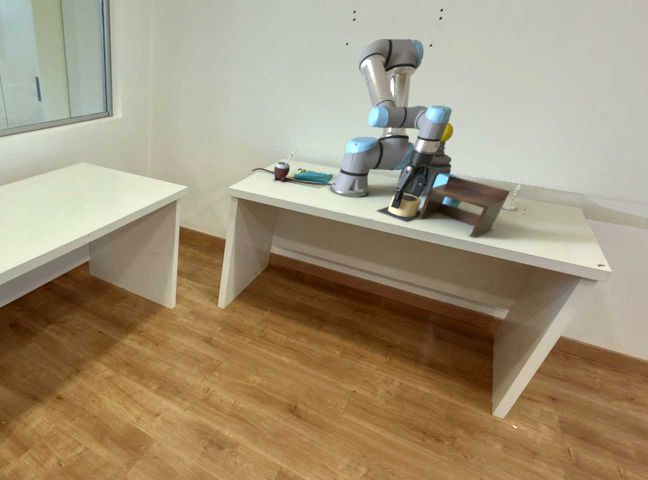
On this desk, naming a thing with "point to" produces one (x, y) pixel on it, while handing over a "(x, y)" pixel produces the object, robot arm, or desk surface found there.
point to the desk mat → (397, 215)
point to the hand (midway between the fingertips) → (404, 204)
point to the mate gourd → (282, 169)
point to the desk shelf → (468, 193)
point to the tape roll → (406, 206)
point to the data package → (442, 180)
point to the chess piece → (511, 200)
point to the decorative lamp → (434, 164)
